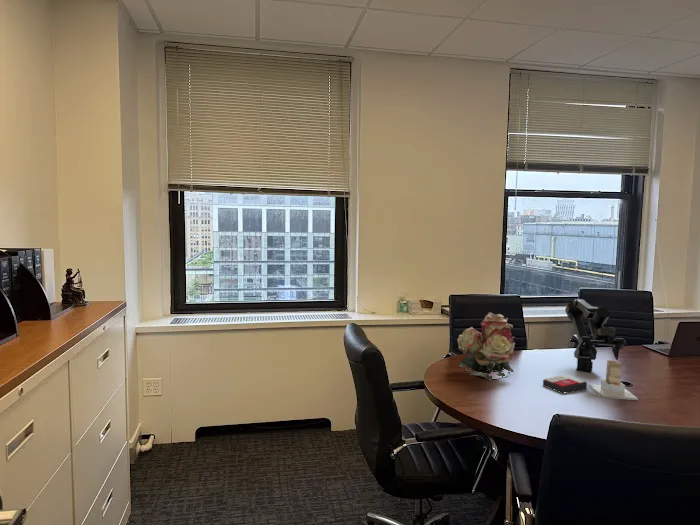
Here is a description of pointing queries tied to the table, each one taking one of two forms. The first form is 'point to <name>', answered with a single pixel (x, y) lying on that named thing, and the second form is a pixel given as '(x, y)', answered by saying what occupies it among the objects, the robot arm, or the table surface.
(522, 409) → the table surface
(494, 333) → the rose bouquet
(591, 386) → the sleeve stand
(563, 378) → the calculator
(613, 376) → the column
